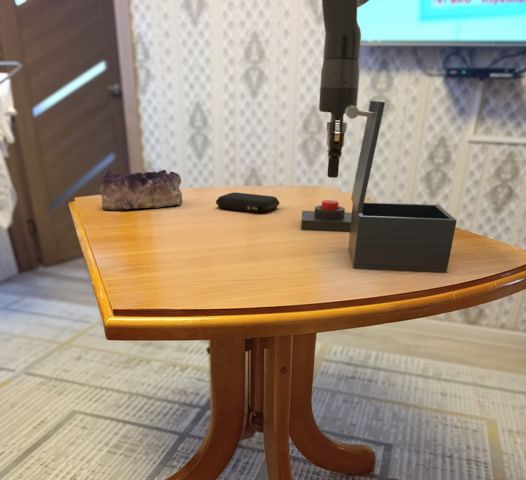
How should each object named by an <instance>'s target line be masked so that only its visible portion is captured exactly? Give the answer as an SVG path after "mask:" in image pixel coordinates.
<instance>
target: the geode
mask: <svg viewBox="0 0 526 480" xmlns="http://www.w3.org/2000/svg"><path fill="white" fill-rule="evenodd" d="M181 184H182V177H181V176H180V174H179V173H177V172H176V171H175V172H174V171H170V172H169V173H168V172H167V170H166V169H162V170H159V171H146V172H144V173H142V172H140V171H139V172H135V173H130V174H127V175H123V174H120V173H114V172H113V171H112V170H111V169H107V170H106V172H105V175H104V176H103V178H102V179H101V184H100V189H99V193H100V196H101V198H102V199H101V207H102V208H101V209H102V211H111V212H112V211H113V212H117V211H119V212H121V211H127V210H137V209H152V208H153V209H154V208H157V209H159V208H165V207H173V206H176V205H182V203H183V194H182V193H183V192H182V191H181V190H180V186H181Z"/></svg>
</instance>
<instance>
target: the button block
mask: <svg viewBox="0 0 526 480" xmlns="http://www.w3.org/2000/svg"><path fill="white" fill-rule="evenodd" d="M351 216H352V212H351V211H350V212H348V211H347V212H346V209H345V207H344V206H343V207H342V206H340V205H338V210H325V209H322V204H321V205H316V206H314V210H301V227H300V231H310V232H331V233H332V232H333V233H336V232H337V233H350V226H351Z"/></svg>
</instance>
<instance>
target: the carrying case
mask: <svg viewBox="0 0 526 480" xmlns="http://www.w3.org/2000/svg"><path fill="white" fill-rule="evenodd" d="M215 204H216V205H217V207H218V208H219V209H223V210H229V211H230V210H231V211H239V212H245V213H255V214H266V213H269V212H270V211H273V210H275V209H277V208H278V206H279V205H280V200H278V198H277V197H275V196H274V195H273V196H271V195H263V194H254V193H245V192H230V193H226V194H223V195H220V196H218V198H217V199H216V200H215Z"/></svg>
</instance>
